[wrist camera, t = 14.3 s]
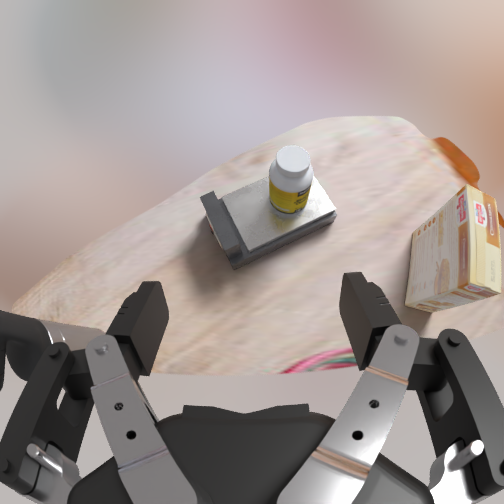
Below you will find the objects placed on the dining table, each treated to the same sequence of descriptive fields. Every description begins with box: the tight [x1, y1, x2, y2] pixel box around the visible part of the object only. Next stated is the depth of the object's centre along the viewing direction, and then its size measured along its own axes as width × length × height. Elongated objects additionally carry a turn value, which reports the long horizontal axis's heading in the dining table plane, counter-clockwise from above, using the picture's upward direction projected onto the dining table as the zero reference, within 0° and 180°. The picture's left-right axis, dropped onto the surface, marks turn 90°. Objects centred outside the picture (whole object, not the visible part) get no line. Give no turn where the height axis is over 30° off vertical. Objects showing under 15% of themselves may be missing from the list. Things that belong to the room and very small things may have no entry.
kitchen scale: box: [200, 191, 337, 270], centre depth 47 cm, size 21×12×8 cm, turn 116°
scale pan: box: [222, 176, 336, 253], centre depth 47 cm, size 16×11×1 cm, turn 116°
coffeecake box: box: [405, 184, 501, 313], centre depth 36 cm, size 15×7×20 cm, turn 163°
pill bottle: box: [269, 145, 314, 215], centre depth 41 cm, size 6×6×12 cm
